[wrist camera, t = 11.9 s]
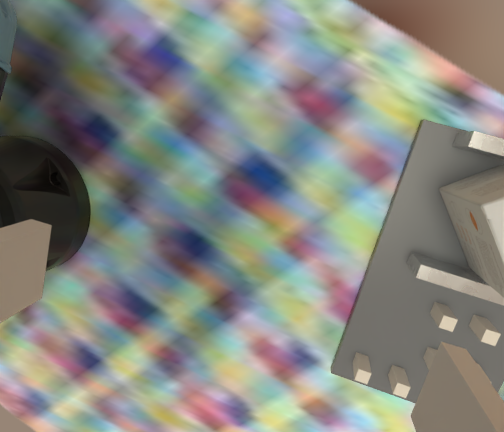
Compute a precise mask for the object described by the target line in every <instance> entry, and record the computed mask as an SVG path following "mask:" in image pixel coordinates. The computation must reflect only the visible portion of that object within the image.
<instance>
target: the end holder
mask: <svg viewBox="0 0 504 432" xmlns="http://www.w3.org/2000/svg"><path fill="white" fill-rule="evenodd" d="M452 146H454V147H457V148H461V149H465V150H468V151H472V152H476V153H479V154H483V155H487V156H491V157H494V158H498V159H502V160H504V139H502V138H498V137H494V136H491V135H487V134H483V133H479V132H476V131H470V132H457V135H456V138H455V140H454V143H453V145H452ZM407 265H408V266H409V268H410V269H411V271H412V272H413V274H414V276H415V277H416V278H418V279H422V280H425V281H428V282H431V283H434V284H437V285H441V286H444V287H447V288H450V289H453V290H456V291H459V292H463V293H466V294H469V295H472V296H475V297H478V298H481V299H485V300H488V301H491V302H494V303H497V304H500V305H503V306H504V298H503V297H502V296H501V295H500V294H499V293H498V292H496V291H495V290H494V289H493V288H492V287H491V286H490V285H489V284H487V283H486V282H485V281H484V280H483V279H482V278H481V277H480V276H478V275H477V274H476V273H475V272H474V271H472V270H469V269H466V268H462V267H459V266H456V265H453V264H449V263H446V262H443V261H440V260H437V259H433V258H430V257H427V256H424V255H420V254H417V253H414V252H411V253H410V256H409V259H408V261H407Z"/></svg>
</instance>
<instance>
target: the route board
mask: <svg viewBox="0 0 504 432" xmlns="http://www.w3.org/2000/svg"><path fill="white" fill-rule="evenodd" d="M457 132H468V131H464V130H461V129H457V128H453V127H449V126H446V125H442V124H438V123H434V122H431V121H427V120H421V122H420V125H419V128H418V131H417V133H416V136H415V139H414V142H413V144H412V147H411V150H410V153H409V155H408V158H407V161H406V164H405V166H404V169H403V172H402V174H401V177H400V180H399V183H398V185H397V188H396V191H395V194H394V196H393V199H392V202H391V205H390V207H389V210H388V213H387V216H386V218H385V221H384V224H383V227H382V229H381V232H380V235H379V238H378V240H377V243H376V246H375V248H374V251H373V254H372V257H371V259H370V262H369V265H368V268H367V270H366V273H365V276H364V279H363V281H362V284H361V287H360V290H359V292H358V295H357V298H356V301H355V303H354V306H353V309H352V312H351V314H350V317H349V320H348V323H347V325H346V328H345V331H344V333H343V336H342V339H341V342H340V344H339V347H338V350H337V353H336V355H335V358H334V361H333V364H332V366H331V373H333V374H335V375H338V376H341V377H344V378H347V379H349V380H352V381H355V382H358V383H360V384H363V385H366V386H369V387H372V388H374V389H377V390H380V391H383V392H386V393H388V394H391V395H394V396H397V397H400V398H402V399H405V400H408V401H411V402H413V403H416V402H417V399H418V397H419V394H420V392H421V389H422V387H423V384H424V382H425V379H426V377H427V375H428V372H429V370H430V367H431V365H432V362H433V360H434V357H435V355H436V352H437V350H438V347H439V345H440V343H441V342H444V343H447V344H451V345H454V346H457V347H461V348H464V349H466V350H467V351H468V352H469V354H470V355H471V357H472V358H473V359H474V361H475V362H476V364H477V365H478V366H479V368H480V369H481V371H482V372H483V373H484V375H485V376H486V378H487V379H488V380H489V382H490V383H491V384H492V386H493V387H494V389H495V390H496V391H497V393H498V391H499V389H500V387H501V385H502V383H503V381H504V306H503V305H500V304H497V303H494V302H491V301H488V300H485V299H481V298H478V297H475V296H472V295H469V294H466V293H463V292H459V291H456V290H453V289H450V288H447V287H444V286H441V285H437V284H434V283H431V282H428V281H425V280H422V279H418V278H416V277H415V276H414V274H413V272H412V271H411V269H410V268H409V266H408V265H407V261H408V259H409V256H410V253H411V252H414V253H417V254H420V255H424V256H427V257H430V258H433V259H437V260H440V261H443V262H446V263H449V264H453V265H456V266H459V267H462V268H466V269H469V270H472V269H471V268H470V267H469V265H468V262H467V260H466V257H465V254H464V252H463V249H462V247H461V244H460V242H459V239H458V237H457V234H456V231H455V229H454V226H453V224H452V221H451V218H450V216H449V213H448V211H447V208H446V206H445V203H444V200H443V198H442V195H441V193H440V191H439V188H441V187H444V186H446V185H449V184H451V183H454V182H457V181H459V180H462V179H465V178H467V177H470V176H473V175H475V174H478V173H481V172H483V171H486V170H489V169H492V168H494V167H497V166H500V165H504V160H502V159H498V158H494V157H491V156H487V155H483V154H479V153H476V152H472V151H468V150H465V149H461V148H457V147H454V146H452V145H453V143H454V140H455V138H456V135H457ZM472 271H473V270H472Z"/></svg>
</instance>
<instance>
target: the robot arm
mask: <svg viewBox="0 0 504 432" xmlns="http://www.w3.org/2000/svg"><path fill="white" fill-rule="evenodd" d="M16 30H17V17H16V14H15V11H14V9H13V7H12V5H11V4H10V2H9V1H8V0H0V100H1V96H2V92H3V89H4V85H5V82H6V78H7V75H8V73H9V74H10V73H11V70H12V67H11V66H10V61H11V56H12V50H13V45H14V39H15V34H16ZM89 216H90V209H89V200H88V195H87V191H86V188H85V185H84V183H83V180H82V178H81V176H80V174H79V172H78V171H77V169H76V168H75V166H74V165H73V164H72V162H71V161H70V160H69V159H68V158H67V157H66V156H65V155H64V154H63V153H62V152H61V151H60V150H58V149H57V148H56V147H54V146H53V145H51V144H49V143H47V142H45V141H43V140H40V139H37V138H33V137H27V136H1V137H0V323H1V322H3V321H4V320H6V319H8V318H9V317H11V316H13V315H14V314H16V313H18V312H19V311H21V310H23V309H24V308H26V307H28V306H29V305H31V304H33V303H34V302H36V301H38V300H39V299H41V298H42V293H43V286H44V279H45V271H47V270H49V269H52V268H54V267H56V266H58V265H60V264H62V263H64V262H66V261H67V260H68V259H70V258H71V257H72V256H73V255H74V254H75V253H76V252H77V250H78V249H79V248H80V246H81V244H82V243H83V241H84V238H85V236H86V233H87V230H88V225H89ZM411 418H412V421H413V424H414V426H415V429H416V432H504V401H503V400H502V398H501V397H500V396H499V394H498V393H497V391H496V390H495V389H494V387H493V386H492V384H491V383H490V382H489V380H488V379H487V378H486V376H485V375H484V373H483V372H482V371H481V369H480V368H479V366H478V365H477V364H476V362H475V361H474V359H473V358H472V357H471V355H470V354H469V352H468V351H467V350H466V349H464V348H461V347H457V346H454V345H451V344H447V343H444V342H441V343H440V345H439V347H438V350H437V352H436V355H435V357H434V360H433V362H432V365H431V367H430V370H429V372H428V375H427V377H426V379H425V382H424V384H423V387H422V389H421V392H420V394H419V397H418V399H417V402H416V404H415V407H414V409H413V411H412V414H411Z"/></svg>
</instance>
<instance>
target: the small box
mask: <svg viewBox="0 0 504 432" xmlns="http://www.w3.org/2000/svg"><path fill="white" fill-rule="evenodd" d="M439 191H440V193H441V195H442V198H443V200H444V203H445V206H446V208H447V211H448V213H449V216H450V218H451V221H452V224H453V226H454V229H455V231H456V234H457V237H458V239H459V242H460V244H461V247H462V249H463V252H464V254H465V257H466V260H467V262H468V265H469V267H470V268H471V269H472V270H473V271H474V272H475V273H476V274H477V275H478V276H480V277H481V278H482V279H483V280H484V281H485V282H486V283H487V284H489V285H490V286H491V287H492V288H493V289H494V290H495V291H496V292H498V293H499V294H500V295H501V296H502V297H503V298H504V165H500V166H497V167H494V168H492V169H489V170H486V171H483V172H481V173H478V174H475V175H473V176H470V177H467V178H465V179H462V180H459V181H457V182H454V183H451V184H449V185H446V186H444V187H441V188H439Z"/></svg>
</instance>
